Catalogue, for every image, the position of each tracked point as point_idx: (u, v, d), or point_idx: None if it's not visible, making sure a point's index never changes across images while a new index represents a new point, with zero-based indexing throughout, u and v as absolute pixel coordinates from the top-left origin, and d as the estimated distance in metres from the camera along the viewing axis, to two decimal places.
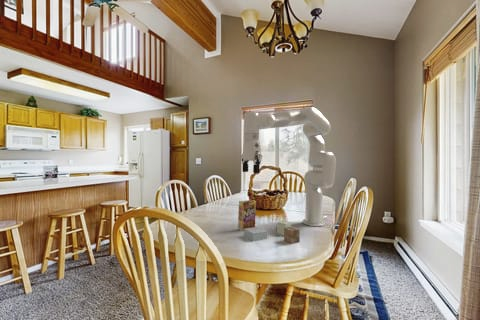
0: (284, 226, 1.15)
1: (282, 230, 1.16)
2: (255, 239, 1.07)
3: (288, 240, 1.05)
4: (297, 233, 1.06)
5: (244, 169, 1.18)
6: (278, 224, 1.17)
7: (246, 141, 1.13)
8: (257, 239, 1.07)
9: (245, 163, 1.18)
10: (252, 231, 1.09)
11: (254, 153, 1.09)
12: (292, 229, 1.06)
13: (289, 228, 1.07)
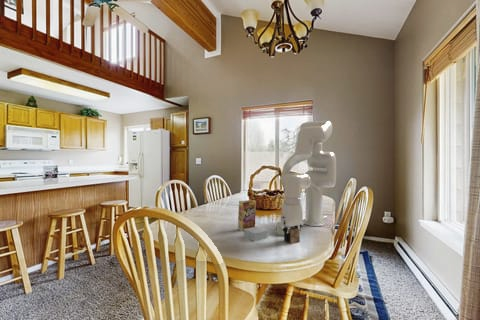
0: None
1: (282, 230, 1.16)
2: (256, 239, 1.07)
3: None
4: (297, 233, 1.06)
5: None
6: (278, 224, 1.17)
7: (295, 206, 1.05)
8: (258, 239, 1.07)
9: None
10: (253, 231, 1.09)
11: None
12: (292, 229, 1.06)
13: None
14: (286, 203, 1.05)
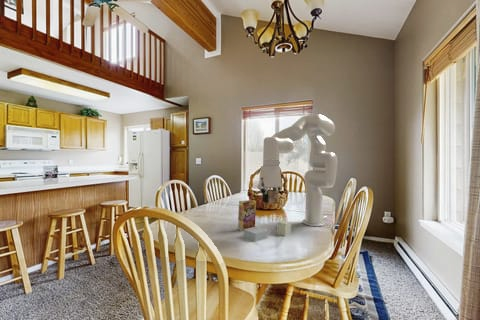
0: (284, 226, 1.15)
1: (282, 230, 1.16)
2: (257, 239, 1.07)
3: None
4: (275, 194, 1.08)
5: None
6: (278, 224, 1.17)
7: (273, 167, 1.07)
8: (259, 239, 1.07)
9: None
10: (253, 231, 1.09)
11: None
12: (270, 190, 1.08)
13: (268, 190, 1.09)
14: (264, 165, 1.07)
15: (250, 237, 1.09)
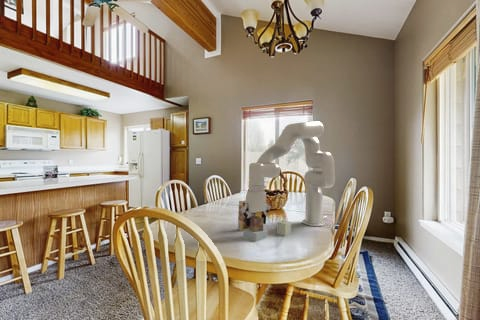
0: (284, 226, 1.15)
1: (282, 230, 1.16)
2: (258, 239, 1.07)
3: (252, 228, 1.10)
4: (261, 222, 1.10)
5: None
6: (278, 224, 1.17)
7: (258, 193, 1.09)
8: (259, 239, 1.08)
9: None
10: None
11: None
12: (256, 218, 1.10)
13: (253, 217, 1.12)
14: (250, 190, 1.09)
15: (250, 237, 1.08)
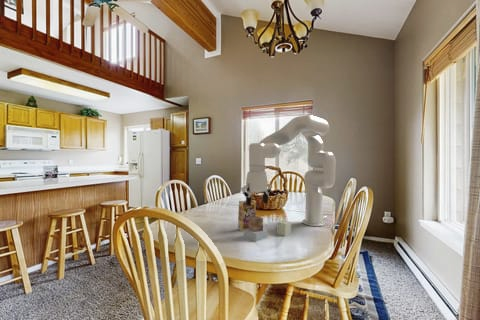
0: (284, 226, 1.15)
1: (282, 230, 1.16)
2: (257, 239, 1.07)
3: (251, 228, 1.10)
4: (260, 222, 1.10)
5: None
6: (278, 224, 1.17)
7: (259, 173, 1.09)
8: (259, 239, 1.08)
9: None
10: None
11: None
12: (255, 218, 1.10)
13: (253, 217, 1.12)
14: (250, 170, 1.09)
15: (250, 237, 1.08)
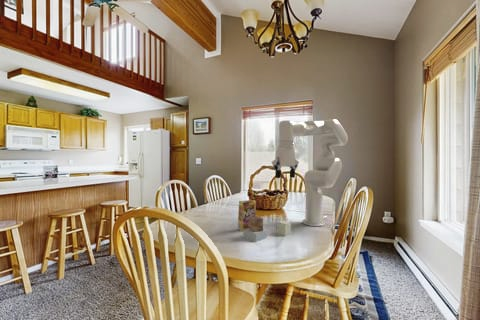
0: (284, 226, 1.15)
1: (282, 230, 1.16)
2: (257, 239, 1.07)
3: (251, 228, 1.10)
4: (260, 222, 1.10)
5: None
6: (278, 224, 1.17)
7: (288, 148, 1.18)
8: (259, 239, 1.07)
9: None
10: None
11: None
12: (255, 218, 1.10)
13: (253, 217, 1.12)
14: (280, 146, 1.18)
15: (250, 237, 1.08)
